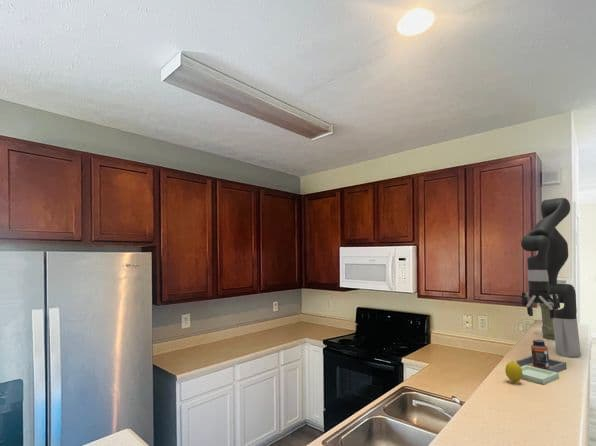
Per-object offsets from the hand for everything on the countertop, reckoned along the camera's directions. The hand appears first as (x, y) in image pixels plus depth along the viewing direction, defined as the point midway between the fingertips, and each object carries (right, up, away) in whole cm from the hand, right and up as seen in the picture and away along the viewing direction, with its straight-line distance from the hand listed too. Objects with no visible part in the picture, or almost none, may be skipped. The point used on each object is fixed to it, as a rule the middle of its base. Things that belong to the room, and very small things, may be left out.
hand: (541, 317), depth 151 cm
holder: (-4, -20, -5) cm, 21 cm away
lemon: (-25, -20, -21) cm, 38 cm away
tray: (-14, -19, -16) cm, 29 cm away
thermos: (+35, -23, +41) cm, 59 cm away
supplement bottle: (-4, -20, -5) cm, 21 cm away
